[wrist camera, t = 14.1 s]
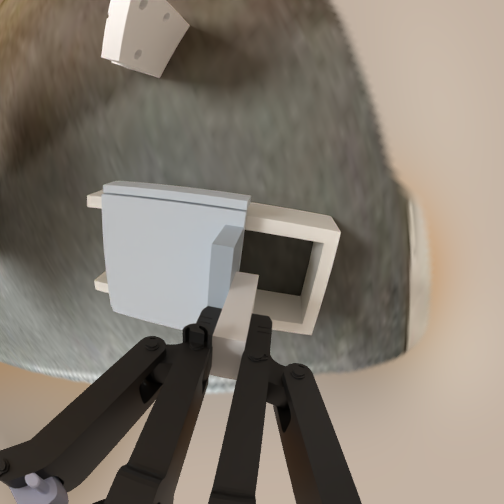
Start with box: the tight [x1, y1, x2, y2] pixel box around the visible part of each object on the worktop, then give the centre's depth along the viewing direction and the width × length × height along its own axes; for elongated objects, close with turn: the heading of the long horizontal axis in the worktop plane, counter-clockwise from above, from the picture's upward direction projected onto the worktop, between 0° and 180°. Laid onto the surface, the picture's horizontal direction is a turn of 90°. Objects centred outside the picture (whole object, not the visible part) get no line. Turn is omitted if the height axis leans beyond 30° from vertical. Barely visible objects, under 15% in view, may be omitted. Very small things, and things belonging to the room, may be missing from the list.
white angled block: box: [101, 0, 190, 78], centre depth 14 cm, size 4×10×9 cm
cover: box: [102, 180, 251, 330], centre depth 19 cm, size 11×11×6 cm
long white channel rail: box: [87, 190, 341, 335], centre depth 22 cm, size 20×9×4 cm, turn 82°
